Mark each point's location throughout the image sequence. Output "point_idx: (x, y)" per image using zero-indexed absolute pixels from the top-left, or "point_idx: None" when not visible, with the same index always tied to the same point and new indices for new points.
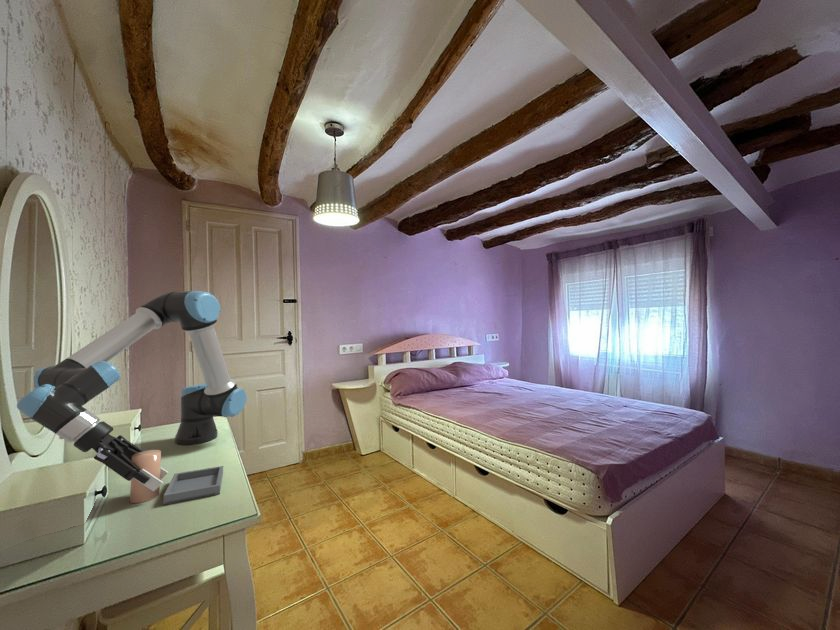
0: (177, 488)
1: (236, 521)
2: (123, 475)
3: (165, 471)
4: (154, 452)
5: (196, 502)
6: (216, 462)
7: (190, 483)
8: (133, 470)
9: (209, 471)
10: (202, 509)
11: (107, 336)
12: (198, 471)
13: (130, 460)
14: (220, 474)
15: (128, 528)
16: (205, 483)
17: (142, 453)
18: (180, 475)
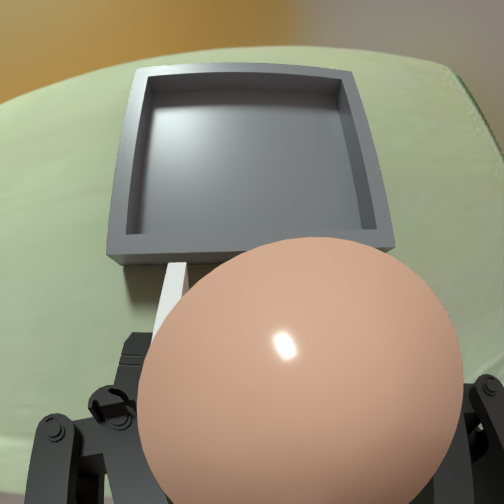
0: (243, 226)
1: (470, 92)
2: (482, 438)
3: (185, 273)
4: (300, 323)
5: (377, 153)
6: (7, 143)
7: (207, 180)
8: (502, 389)
9: (143, 113)
10: (423, 139)
11: None
12: (136, 146)
13: (437, 492)
14: (238, 66)
15: (478, 324)
16: (239, 125)
17: (274, 478)
18: (128, 225)
